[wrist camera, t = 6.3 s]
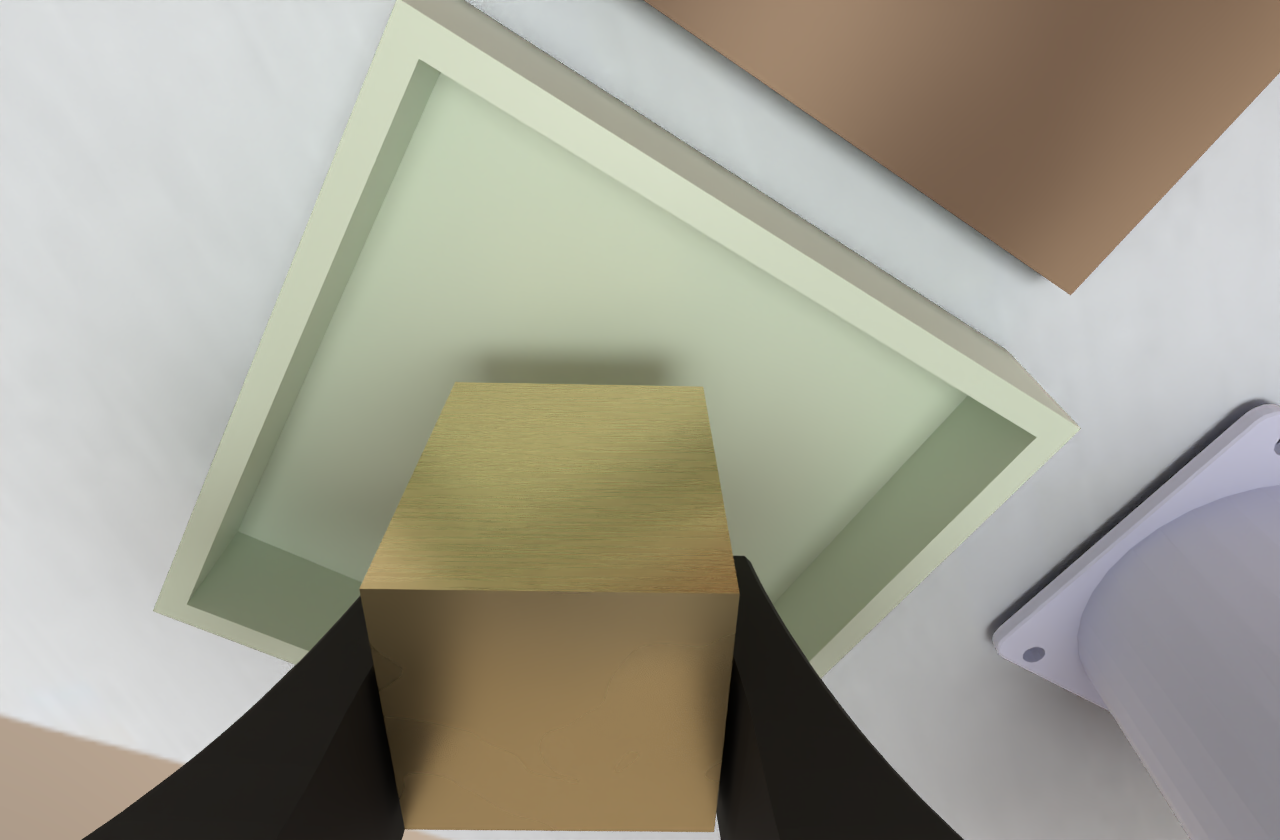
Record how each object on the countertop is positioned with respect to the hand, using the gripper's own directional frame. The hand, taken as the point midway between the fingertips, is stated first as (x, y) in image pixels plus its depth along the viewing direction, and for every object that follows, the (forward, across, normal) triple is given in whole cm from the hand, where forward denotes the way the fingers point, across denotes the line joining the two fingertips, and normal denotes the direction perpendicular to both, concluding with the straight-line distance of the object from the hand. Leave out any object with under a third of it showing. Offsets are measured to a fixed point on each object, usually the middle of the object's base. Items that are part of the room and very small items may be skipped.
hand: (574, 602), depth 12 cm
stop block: (+2, 0, -1) cm, 2 cm away
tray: (+5, 0, 0) cm, 5 cm away
